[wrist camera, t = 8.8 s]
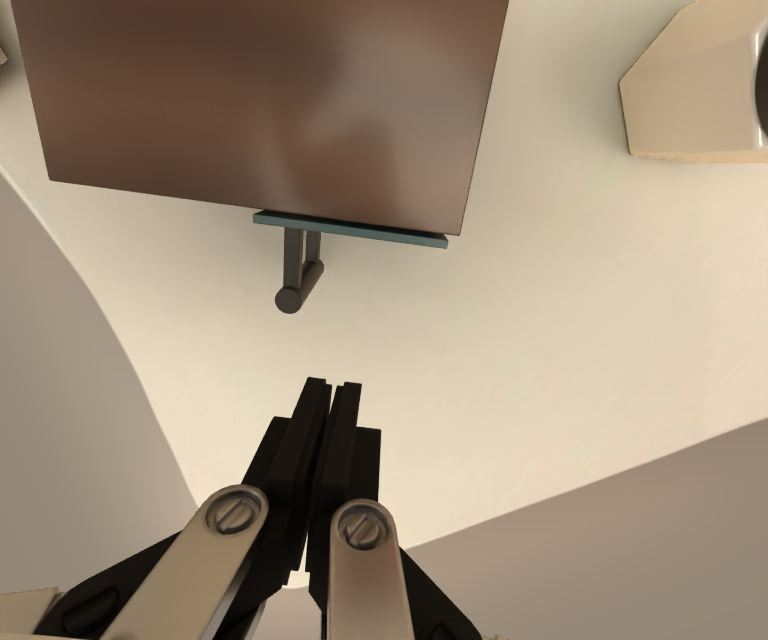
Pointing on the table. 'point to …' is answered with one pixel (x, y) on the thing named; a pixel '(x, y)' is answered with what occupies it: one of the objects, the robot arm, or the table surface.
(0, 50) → the stamp
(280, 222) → the sliding door
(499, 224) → the table surface
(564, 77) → the table surface
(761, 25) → the jar
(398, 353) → the table surface
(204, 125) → the cupboard
